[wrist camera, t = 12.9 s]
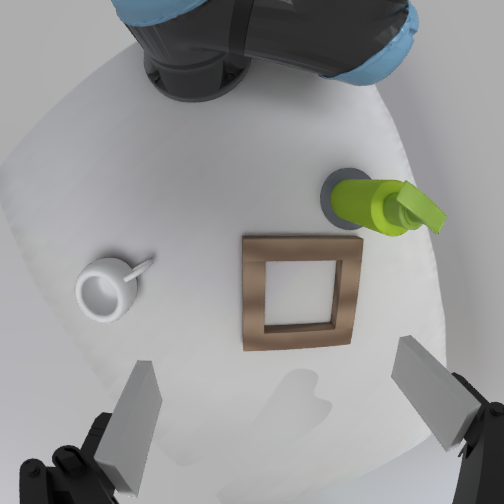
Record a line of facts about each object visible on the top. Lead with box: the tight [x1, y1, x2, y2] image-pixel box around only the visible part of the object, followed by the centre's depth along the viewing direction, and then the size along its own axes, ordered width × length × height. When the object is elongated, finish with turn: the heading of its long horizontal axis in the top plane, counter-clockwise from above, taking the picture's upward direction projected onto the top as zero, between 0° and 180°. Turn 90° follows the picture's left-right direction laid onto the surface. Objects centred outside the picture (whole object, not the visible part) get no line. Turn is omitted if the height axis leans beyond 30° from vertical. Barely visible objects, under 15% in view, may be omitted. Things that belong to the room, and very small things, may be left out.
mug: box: [75, 258, 153, 323], centre depth 37 cm, size 12×8×8 cm
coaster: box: [321, 168, 372, 230], centre depth 40 cm, size 9×9×1 cm
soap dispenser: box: [330, 180, 447, 236], centre depth 30 cm, size 6×7×20 cm
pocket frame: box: [242, 236, 363, 351], centre depth 42 cm, size 17×17×2 cm
